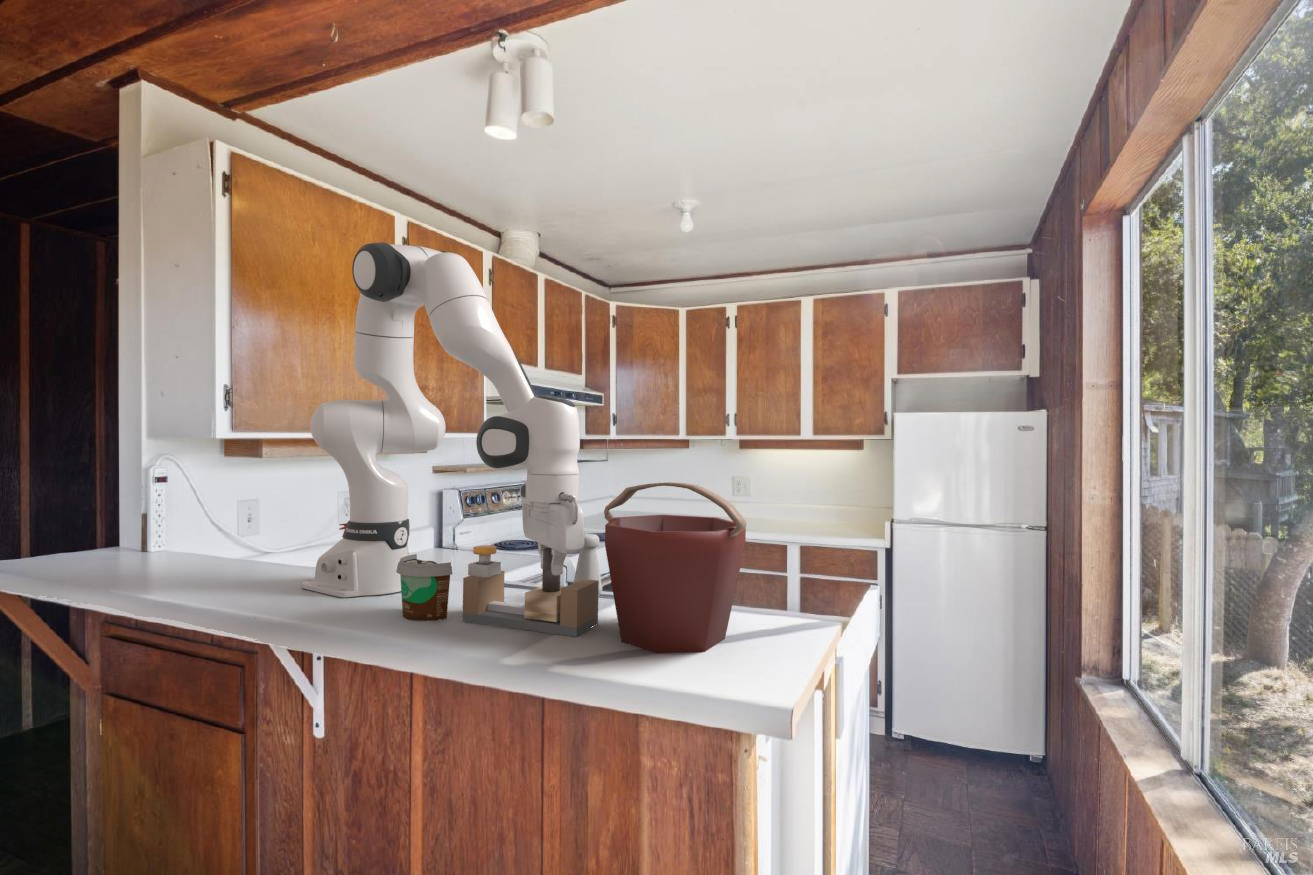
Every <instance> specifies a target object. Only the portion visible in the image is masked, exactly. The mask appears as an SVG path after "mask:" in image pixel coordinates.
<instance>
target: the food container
mask: <svg viewBox="0 0 1313 875" xmlns="http://www.w3.org/2000/svg"><path fill="white" fill-rule="evenodd" d="M396 572H397V573H398V574H400V578H401V591H400V593H401V606H402V611H401V612H402V617H403V619H405V620H407V621H412V622H434V621H442V620H446V619H447V618H448V608H449V595H450V584H451V583H450V582H451V575H453V567H452V562H442V563H438V562H437V561H436V562H435V561H433V560H421V559H418V556H417V553H416V554H409V555H408V556H405V557H402V558H401V559H400V562H398V566H397V570H396Z"/></svg>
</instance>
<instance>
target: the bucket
mask: <svg viewBox="0 0 1313 875" xmlns="http://www.w3.org/2000/svg"><path fill="white" fill-rule="evenodd" d="M663 486H664V487H675V488H683V489H687V490H690V491H692V492H695V493H697V494H698V495H700V496H701V497H704V498H706V499H708V500H710V501H711V502H712V503H714V504H715V505H716V506H718V507H720V508H721V509H722V510H723V511H724V512H725V513H726V515H727V516H728V517H729V518H730V519H731V520H728V519H726V518H725V519H724V518H721V517H718V516H717V517H714V516H699V515H698V516H697V515H695V516H693V515H679V514H677V515H676V514H649V515H646V514H645V515H634V516H618V517H614V516H613V514H612V513H611V511H610V510H612V509H615V508H617V507H620V506H622V505H624V504H625V503H626V502H628V501H629V499H631V498H632V497H633V496H634V495H635V494H636V493H637V492H638V491H642V490H647V489H650V488H655V487H663ZM603 514H604V519H605V520H606V521H607V522H606V524H605V526H604V527H605V528H604V529H605V530H604V531H605V532H604V548H605V553H606V560H607V564H608V571H609V576H610V577H609V578H610V582H611V588H612V589H611V590H612V594H613V599H614V600H613V601H614V605H615V611H616V612H615V613H616V617H617V624H618V630H619V636H620V641H621V643H623V644H626V645H629V646H631V647H635V648H638V649H641V650H644V651H648V652H650V653H653V654H676V653H677V654H679V653H682V654H683V653H705V652H707V651H708V650H710V649H712V648H713V647H715V646H716V645H718V644H720V643H721V642H722V641H724V640H725V639H726V635H727V630H728V626H729V622H730V616H731V611H732V609H733V608H732V607H733V603H734V599H735V594H736V589H737V585H738V581H739V579H738V578H739V574H740V571H741V570H740V569H741V566H742V562H743V561H742V560H743V556H744V551H745V547H746V539H747V538H746V531H747V529H746V528H747V521H746V520H745V519H744V518H745V517H743V515H742V514H741V513H740V512H739V510H738V509H737V507H735V506H734V505H733V504H732V503H731V502H729V501H727V500H726V499H725V498H723V497H722V496H720V495H719V494H717V493H715V492H713V491H711V490H709V489H707V488H705V487H703V486H700V485H699V484H692V483H685V482H676V481H675V482H672V481H668V482H655V483H645V484H639V485H638V484H637V485H633V486H628V487H626V488H625V489H624V490H623V491H622V492H620V494H619V495H617V496H616V497H615V498H614V499H613V500H612V501H611V502H609V504H607V505H606V506H605V508H604V510H603Z"/></svg>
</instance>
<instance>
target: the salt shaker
mask: <svg viewBox="0 0 1313 875" xmlns="http://www.w3.org/2000/svg"><path fill="white" fill-rule="evenodd" d="M599 545H600V537H599V536H598V535H597V534H596V533H595V534H594V533H584V548H583V551H582V552H581V553H578V560H577V563H576V568H575V574H574V579H573V583H575V582H577V581H580V580H582V579H588V580H598V581H599V593H598V599H599V597H600V595H601V594H602V592H603V584H602V579H601V572H600V567H599V566H600V565H599V560H598V553H597V547H599Z"/></svg>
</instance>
